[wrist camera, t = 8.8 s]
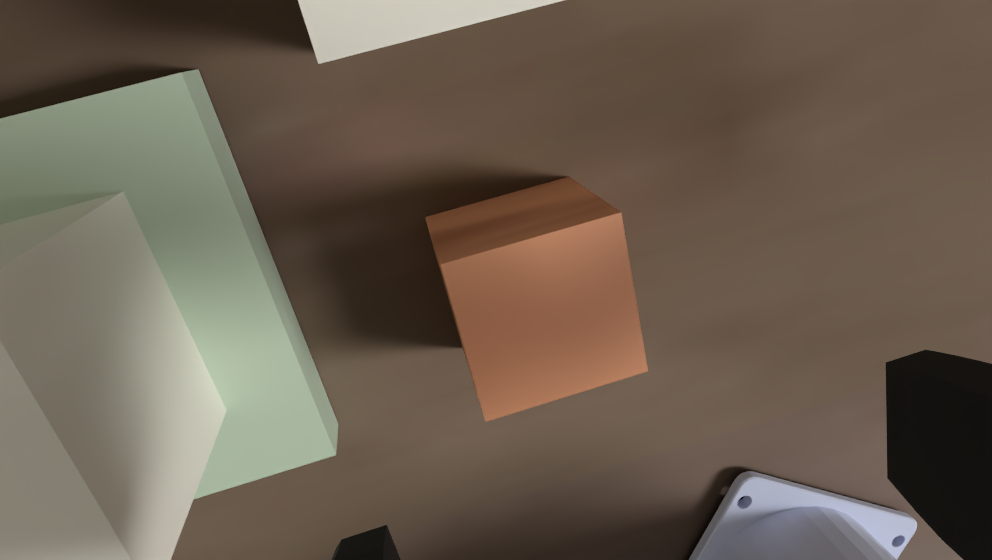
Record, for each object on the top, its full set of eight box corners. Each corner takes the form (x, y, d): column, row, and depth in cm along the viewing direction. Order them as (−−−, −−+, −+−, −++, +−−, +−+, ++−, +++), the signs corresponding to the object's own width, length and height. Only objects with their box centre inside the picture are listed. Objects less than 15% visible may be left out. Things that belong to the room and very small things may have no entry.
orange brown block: (593, 307, 19) (647, 371, 16) (462, 346, 19) (485, 421, 15) (568, 175, 18) (621, 212, 14) (424, 216, 17) (440, 264, 14)
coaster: (338, 424, 19) (336, 455, 17) (-19, 533, 18) (-51, 575, 17) (198, 69, 15) (181, 72, 14) (-261, 186, 14) (-328, 202, 13)
